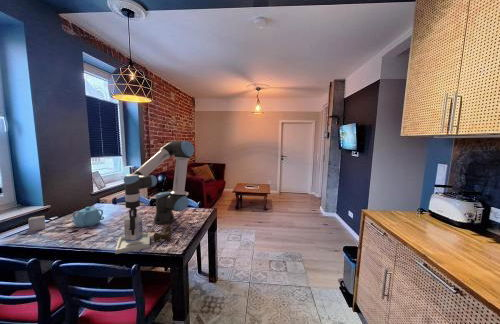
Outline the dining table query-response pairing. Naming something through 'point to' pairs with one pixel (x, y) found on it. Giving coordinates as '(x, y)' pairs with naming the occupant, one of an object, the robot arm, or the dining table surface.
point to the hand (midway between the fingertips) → (133, 236)
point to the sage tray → (133, 244)
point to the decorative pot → (87, 217)
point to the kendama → (165, 235)
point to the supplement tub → (127, 226)
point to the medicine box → (36, 223)
